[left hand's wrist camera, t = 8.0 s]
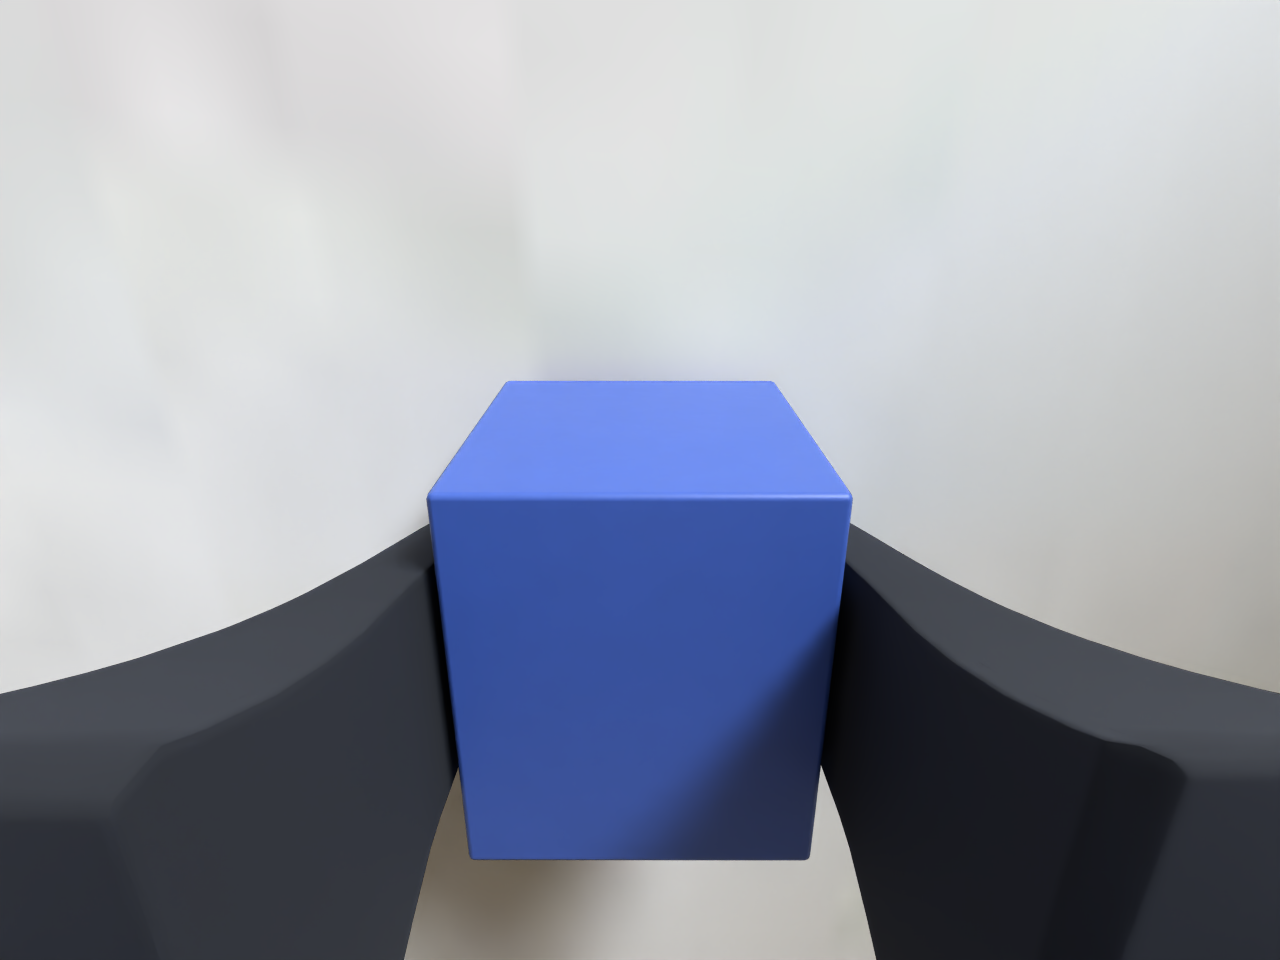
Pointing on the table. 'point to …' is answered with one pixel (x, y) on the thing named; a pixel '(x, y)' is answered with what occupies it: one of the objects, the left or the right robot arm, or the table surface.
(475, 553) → the block
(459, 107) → the table surface
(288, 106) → the table surface
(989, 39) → the table surface
